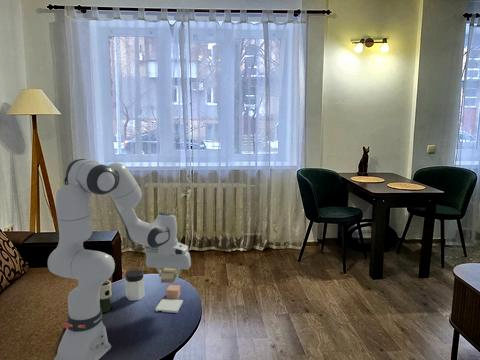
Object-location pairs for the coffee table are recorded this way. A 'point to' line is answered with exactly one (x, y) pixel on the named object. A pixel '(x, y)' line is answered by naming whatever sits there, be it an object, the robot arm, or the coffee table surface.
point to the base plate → (169, 305)
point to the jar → (134, 285)
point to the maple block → (168, 275)
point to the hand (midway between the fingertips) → (168, 276)
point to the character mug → (105, 296)
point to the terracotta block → (173, 292)
